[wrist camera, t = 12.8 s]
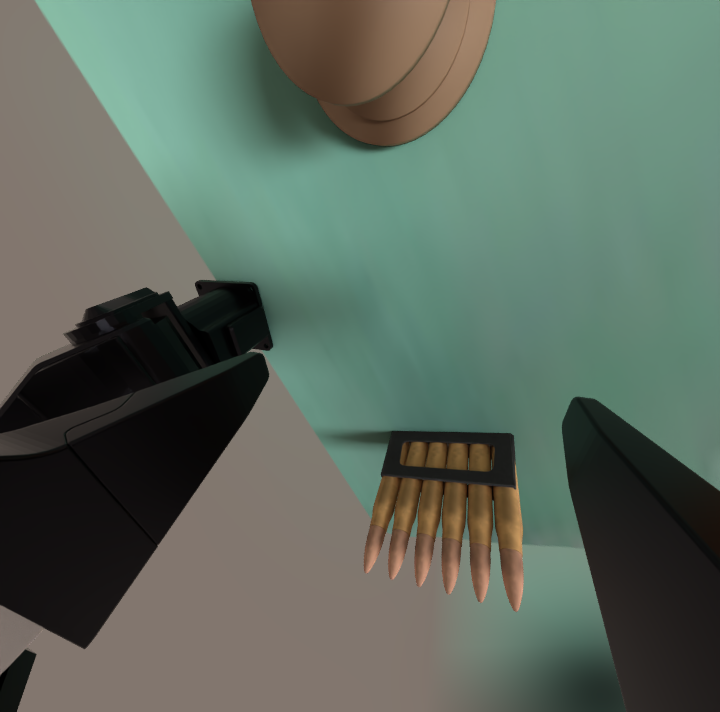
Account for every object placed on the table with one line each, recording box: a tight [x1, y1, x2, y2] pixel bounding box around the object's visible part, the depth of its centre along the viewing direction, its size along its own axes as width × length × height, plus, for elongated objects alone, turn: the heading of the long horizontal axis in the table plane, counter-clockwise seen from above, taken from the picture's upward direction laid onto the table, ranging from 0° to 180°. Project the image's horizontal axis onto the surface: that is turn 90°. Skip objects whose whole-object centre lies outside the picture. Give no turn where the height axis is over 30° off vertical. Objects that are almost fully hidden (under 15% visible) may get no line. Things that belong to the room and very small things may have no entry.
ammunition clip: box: [364, 431, 523, 612], centre depth 22 cm, size 11×2×12 cm, turn 108°
